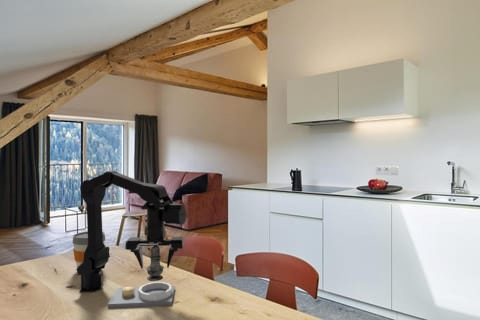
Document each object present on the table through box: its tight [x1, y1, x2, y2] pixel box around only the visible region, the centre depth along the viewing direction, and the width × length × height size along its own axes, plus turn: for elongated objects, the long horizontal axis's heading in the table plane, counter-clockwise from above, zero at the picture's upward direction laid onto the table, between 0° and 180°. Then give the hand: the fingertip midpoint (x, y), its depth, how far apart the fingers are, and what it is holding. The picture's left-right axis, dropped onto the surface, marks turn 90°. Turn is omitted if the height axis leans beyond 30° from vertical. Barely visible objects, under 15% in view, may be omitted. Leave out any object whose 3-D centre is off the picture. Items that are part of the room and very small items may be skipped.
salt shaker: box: [145, 246, 165, 282], centre depth 116 cm, size 6×6×12 cm
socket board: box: [107, 281, 176, 309], centre depth 115 cm, size 20×13×3 cm, turn 97°
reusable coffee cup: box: [72, 231, 106, 269], centre depth 142 cm, size 13×13×15 cm
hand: (155, 267), depth 116 cm, fingers closed on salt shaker, 8 cm apart
